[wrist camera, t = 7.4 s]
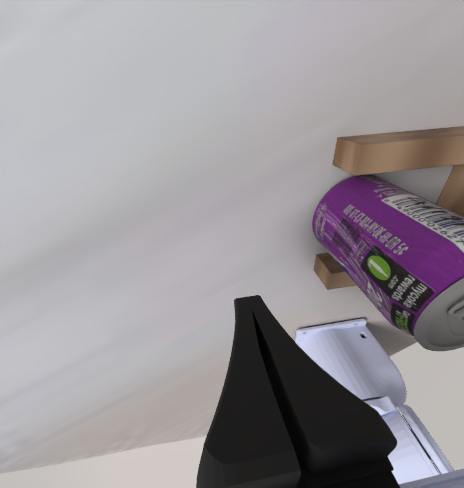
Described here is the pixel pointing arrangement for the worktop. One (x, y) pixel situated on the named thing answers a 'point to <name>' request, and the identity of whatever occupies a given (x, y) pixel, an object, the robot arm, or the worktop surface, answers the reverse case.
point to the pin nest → (397, 159)
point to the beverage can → (399, 256)
